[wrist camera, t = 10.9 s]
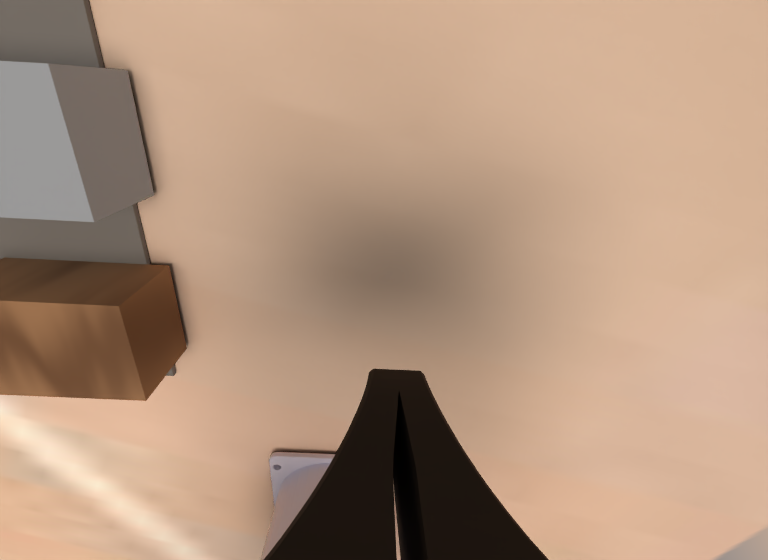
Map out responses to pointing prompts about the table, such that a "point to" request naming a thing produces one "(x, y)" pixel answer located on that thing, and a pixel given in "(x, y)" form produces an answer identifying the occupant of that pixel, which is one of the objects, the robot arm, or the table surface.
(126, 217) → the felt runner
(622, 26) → the table surface
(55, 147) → the slate block
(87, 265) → the walnut block
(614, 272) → the table surface
